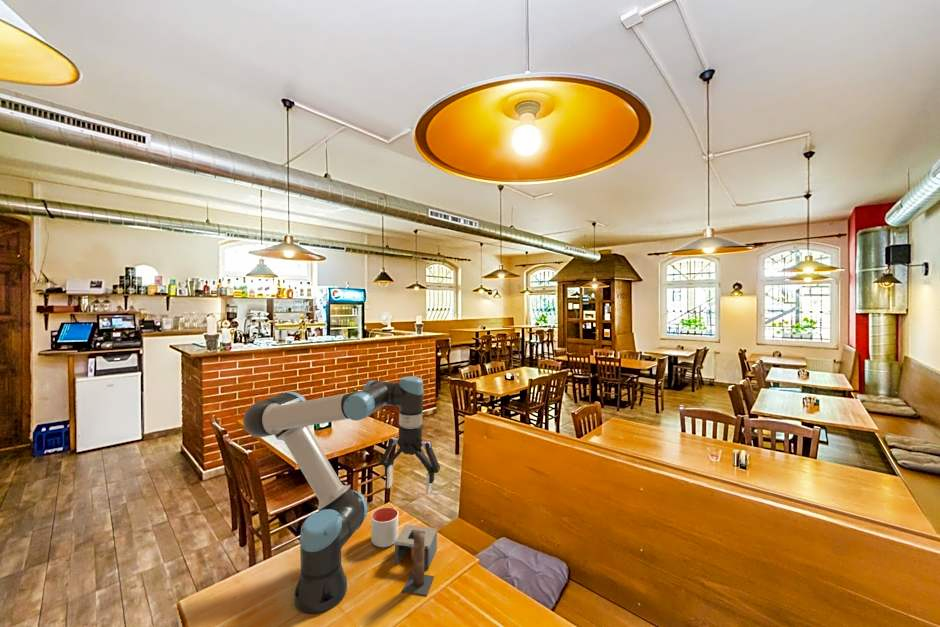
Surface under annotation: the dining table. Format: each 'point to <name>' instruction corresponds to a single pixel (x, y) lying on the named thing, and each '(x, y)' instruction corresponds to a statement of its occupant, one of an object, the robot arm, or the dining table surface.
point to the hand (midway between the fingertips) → (408, 489)
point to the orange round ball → (412, 553)
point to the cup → (384, 527)
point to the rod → (418, 559)
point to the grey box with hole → (407, 541)
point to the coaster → (418, 590)
